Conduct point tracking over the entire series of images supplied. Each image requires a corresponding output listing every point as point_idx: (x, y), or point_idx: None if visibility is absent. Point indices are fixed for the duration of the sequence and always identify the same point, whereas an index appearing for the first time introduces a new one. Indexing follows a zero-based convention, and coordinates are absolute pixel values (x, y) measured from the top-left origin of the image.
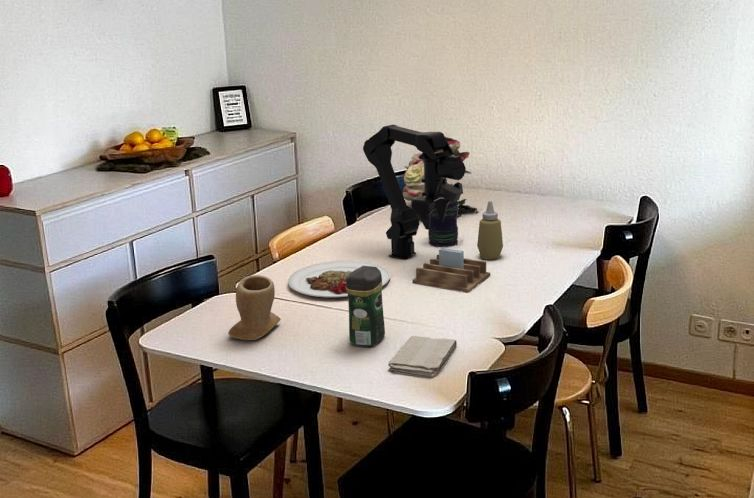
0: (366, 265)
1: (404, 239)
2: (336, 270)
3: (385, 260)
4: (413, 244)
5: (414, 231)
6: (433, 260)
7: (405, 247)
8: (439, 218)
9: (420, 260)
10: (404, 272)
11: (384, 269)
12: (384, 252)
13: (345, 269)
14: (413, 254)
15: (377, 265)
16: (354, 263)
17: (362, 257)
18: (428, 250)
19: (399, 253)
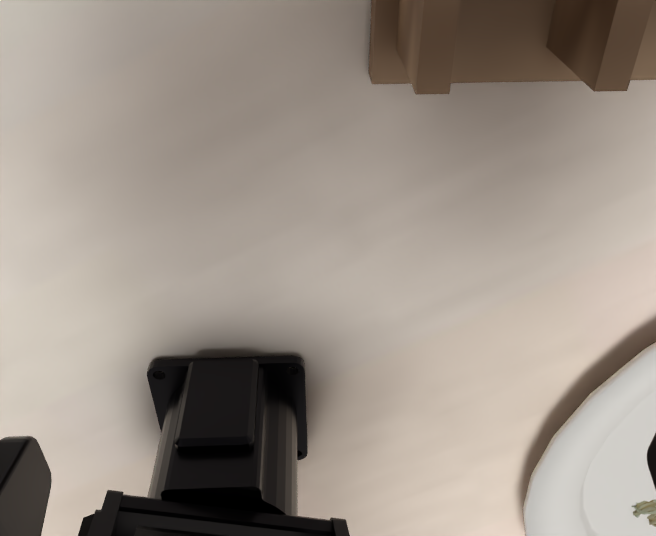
0: (567, 466)
1: (269, 503)
2: (625, 528)
3: (372, 436)
4: (192, 423)
5: (162, 529)
6: (638, 38)
7: (267, 437)
8: (36, 534)
9: (263, 270)
10: (573, 244)
11: (651, 359)
12: None
13: (601, 509)
14: (190, 361)
15: (576, 422)
16: (549, 517)
17: (376, 530)
18: (20, 323)
19: (295, 424)
